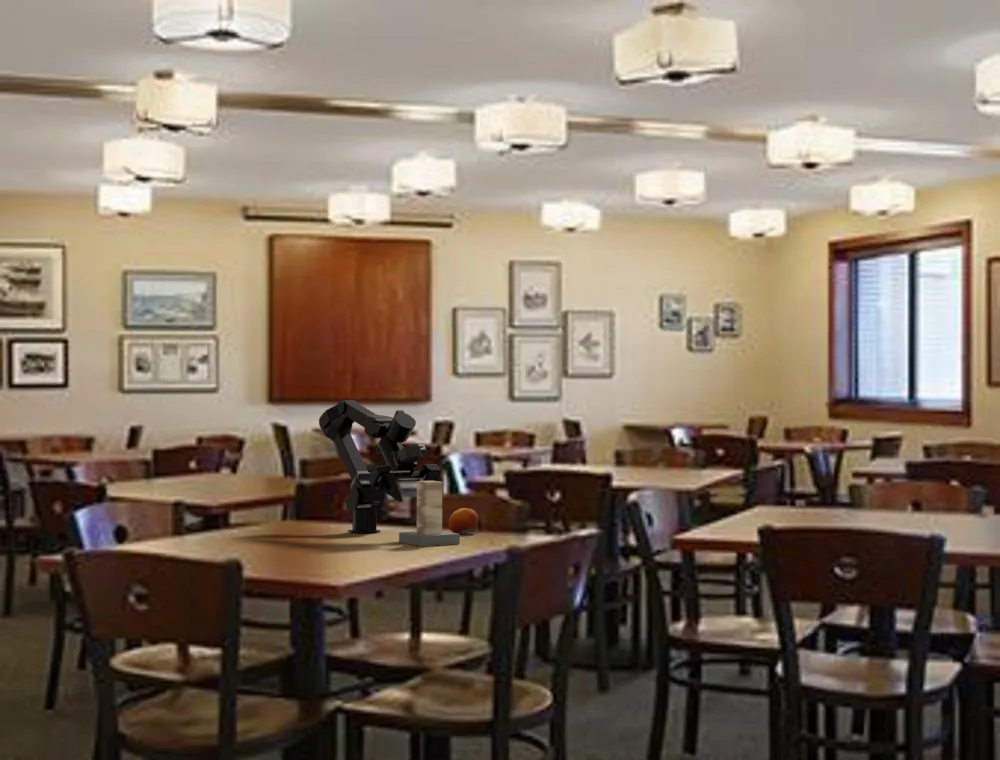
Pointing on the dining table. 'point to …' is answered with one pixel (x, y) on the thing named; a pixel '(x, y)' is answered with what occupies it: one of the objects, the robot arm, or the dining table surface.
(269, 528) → the dining table surface
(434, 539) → the plinth
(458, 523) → the fruit
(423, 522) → the maple post
